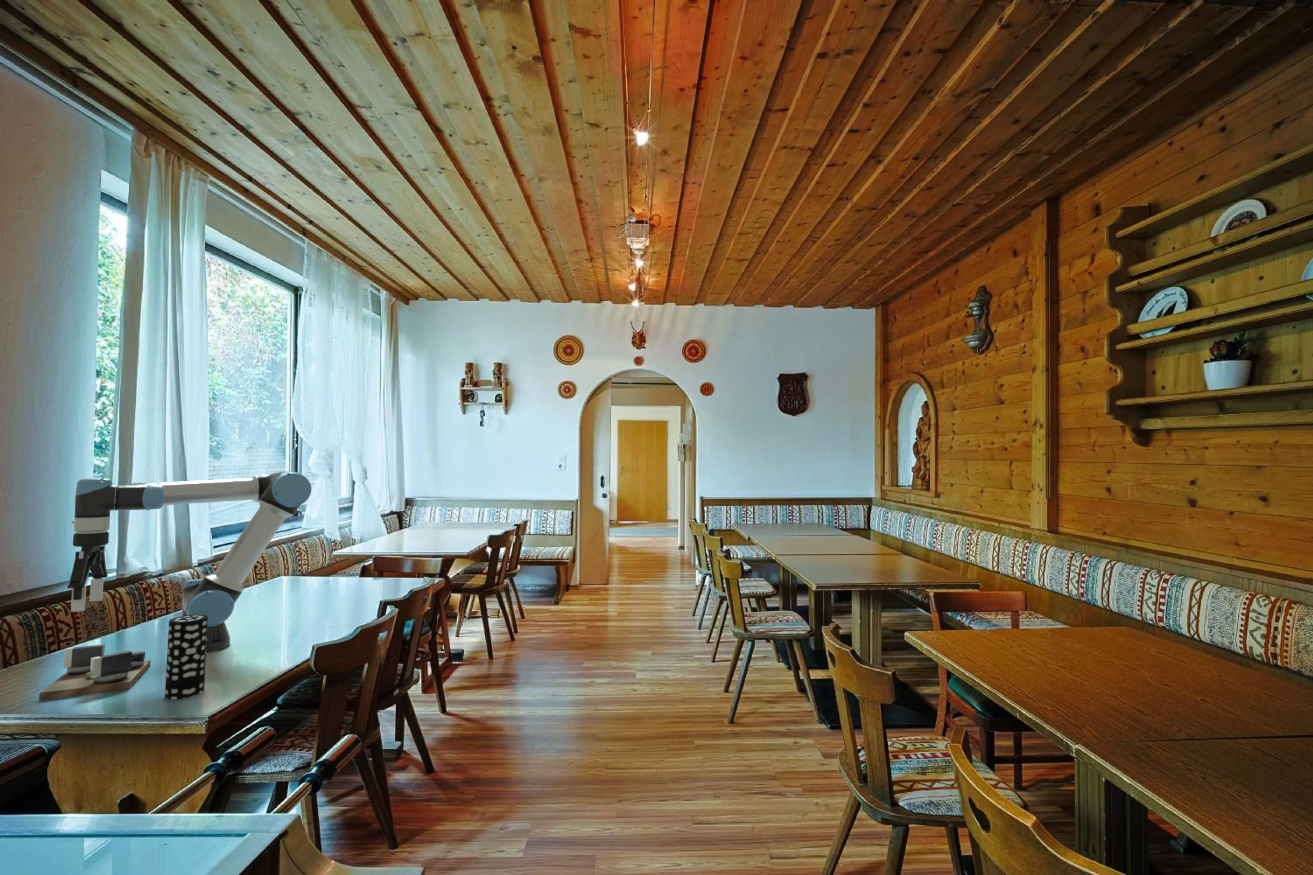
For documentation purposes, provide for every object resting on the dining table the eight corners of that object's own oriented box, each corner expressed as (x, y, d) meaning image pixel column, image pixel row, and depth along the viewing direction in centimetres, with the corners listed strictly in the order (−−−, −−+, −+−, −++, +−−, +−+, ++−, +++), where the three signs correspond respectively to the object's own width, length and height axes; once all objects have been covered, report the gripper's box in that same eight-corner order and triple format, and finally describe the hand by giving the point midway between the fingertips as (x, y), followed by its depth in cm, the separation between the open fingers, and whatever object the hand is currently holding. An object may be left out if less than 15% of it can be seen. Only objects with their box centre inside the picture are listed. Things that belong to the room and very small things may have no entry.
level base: (150, 666, 180) (150, 655, 180) (129, 689, 162) (129, 677, 162) (70, 675, 171) (71, 664, 171) (39, 700, 154) (39, 687, 154)
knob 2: (124, 671, 168) (126, 648, 169) (134, 676, 165) (135, 653, 165) (86, 680, 162) (88, 656, 162) (95, 685, 158) (96, 661, 158)
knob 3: (147, 660, 178) (147, 648, 178) (140, 667, 172) (140, 655, 172) (116, 664, 175) (116, 651, 175) (107, 671, 169) (108, 658, 169)
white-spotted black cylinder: (179, 687, 163) (183, 614, 164) (211, 687, 164) (215, 614, 165) (156, 699, 155) (160, 622, 156) (190, 699, 156) (194, 622, 157)
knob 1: (106, 664, 175) (107, 641, 175) (98, 671, 168) (99, 648, 169) (69, 668, 171) (71, 645, 171) (59, 676, 165) (60, 652, 165)
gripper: (90, 527, 181) (86, 598, 180) (55, 537, 159) (50, 617, 158) (122, 527, 184) (118, 595, 183) (92, 536, 162) (88, 614, 161)
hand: (87, 605), depth 170 cm, fingers open, 13 cm apart
